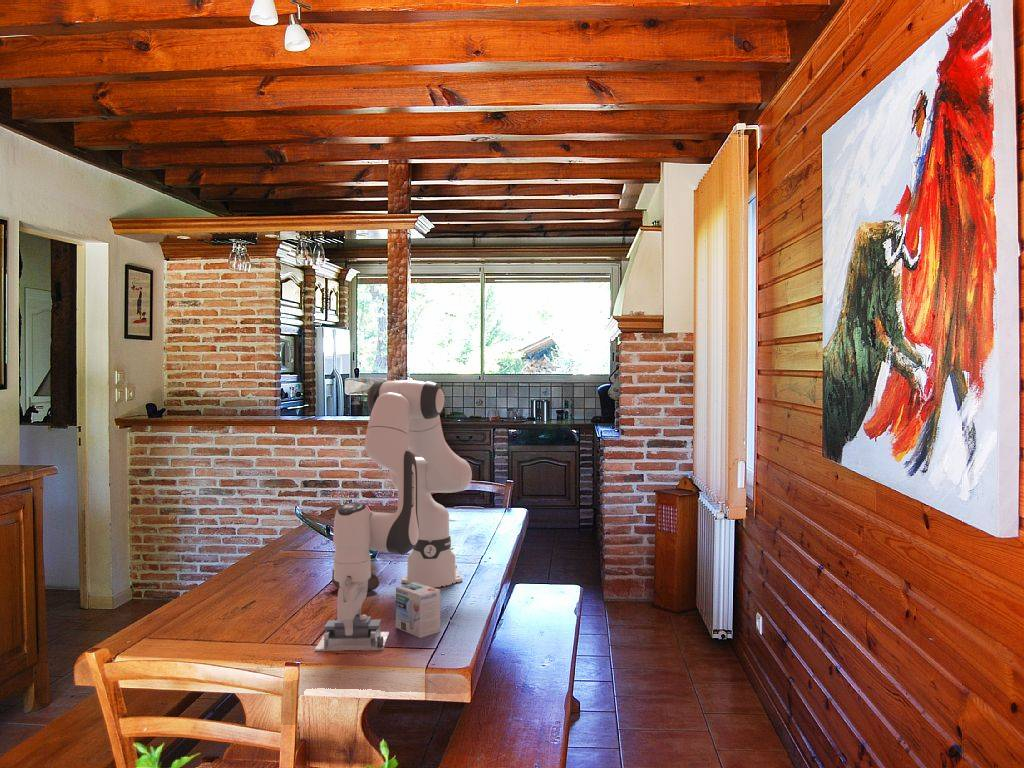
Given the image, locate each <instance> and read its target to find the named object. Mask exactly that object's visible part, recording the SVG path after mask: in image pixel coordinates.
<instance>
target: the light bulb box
mask: <svg viewBox="0 0 1024 768" xmlns="http://www.w3.org/2000/svg"><path fill="white" fill-rule="evenodd" d="M395 628H396V629H398V630H401V631H403V632H405V633H408V634H409V635H412V636H415V637H416V638H418V639H422V638H425V637H428V636H431V635H434V634H437V633H440V632H441V589H439V588H436V587H434V588H432V587H429V586H426V585H423V584H420V583H417V582H413V583H410V584H407V583H405V584H404V585H403V584H402V585H399V586H396V587H395Z"/></svg>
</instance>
